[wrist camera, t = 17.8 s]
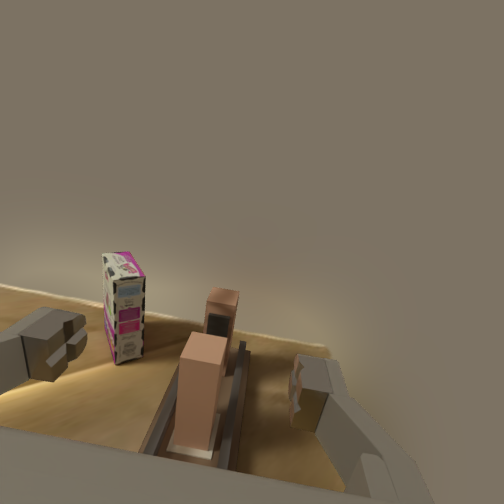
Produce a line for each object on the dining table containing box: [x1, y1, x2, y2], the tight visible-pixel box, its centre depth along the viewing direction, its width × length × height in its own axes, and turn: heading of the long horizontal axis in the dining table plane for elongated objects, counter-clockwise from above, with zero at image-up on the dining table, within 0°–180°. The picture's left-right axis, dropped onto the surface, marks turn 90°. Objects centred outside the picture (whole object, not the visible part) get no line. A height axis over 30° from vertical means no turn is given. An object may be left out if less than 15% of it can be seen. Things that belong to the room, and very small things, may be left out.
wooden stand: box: [138, 287, 251, 472], centre depth 39 cm, size 12×22×16 cm, turn 175°
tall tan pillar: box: [173, 331, 227, 451], centre depth 33 cm, size 4×5×14 cm
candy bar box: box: [102, 252, 146, 365], centre depth 47 cm, size 11×5×16 cm, turn 35°
